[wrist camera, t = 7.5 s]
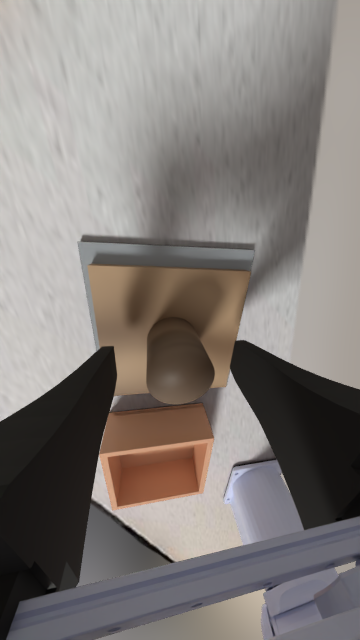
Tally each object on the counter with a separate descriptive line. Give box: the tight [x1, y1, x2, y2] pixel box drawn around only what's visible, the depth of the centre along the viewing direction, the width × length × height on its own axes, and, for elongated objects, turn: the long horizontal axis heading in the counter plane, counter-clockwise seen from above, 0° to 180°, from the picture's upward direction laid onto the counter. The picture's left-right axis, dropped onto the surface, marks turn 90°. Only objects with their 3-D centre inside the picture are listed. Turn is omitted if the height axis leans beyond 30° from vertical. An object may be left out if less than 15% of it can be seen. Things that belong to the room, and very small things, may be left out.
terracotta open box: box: [99, 403, 214, 510], centre depth 17 cm, size 9×9×4 cm
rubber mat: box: [77, 242, 255, 386], centre depth 14 cm, size 12×11×1 cm
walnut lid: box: [87, 264, 251, 404], centre depth 11 cm, size 10×10×5 cm
